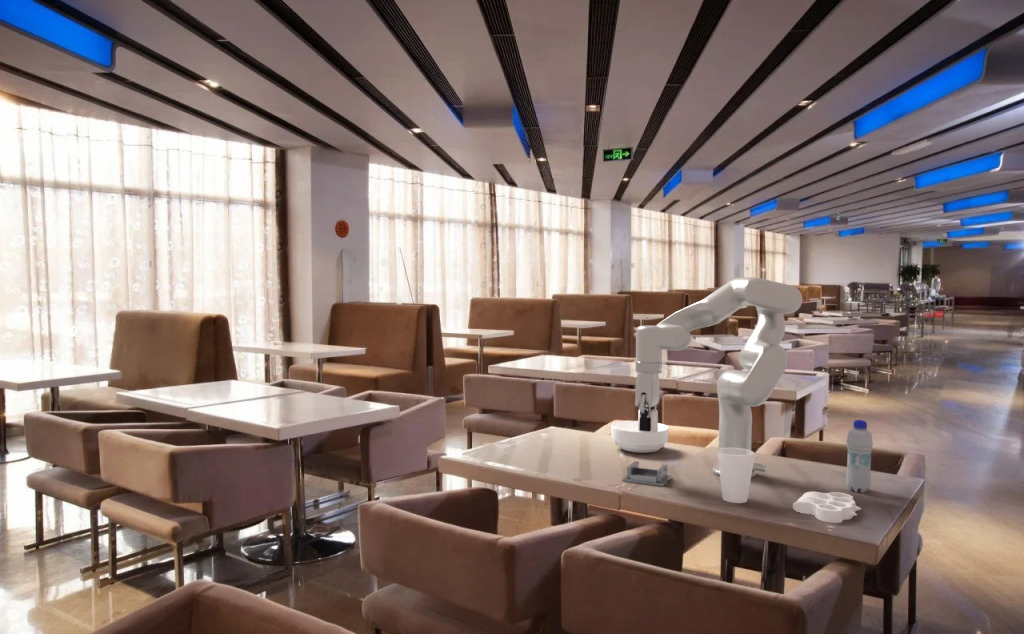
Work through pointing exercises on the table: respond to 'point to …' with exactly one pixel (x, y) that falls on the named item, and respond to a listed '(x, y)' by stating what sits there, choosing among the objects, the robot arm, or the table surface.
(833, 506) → the white compartment tray
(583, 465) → the table surface
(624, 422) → the bowl
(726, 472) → the foam cup
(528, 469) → the table surface
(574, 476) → the table surface
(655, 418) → the paper roll
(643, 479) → the roll cradle
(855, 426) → the bottle
